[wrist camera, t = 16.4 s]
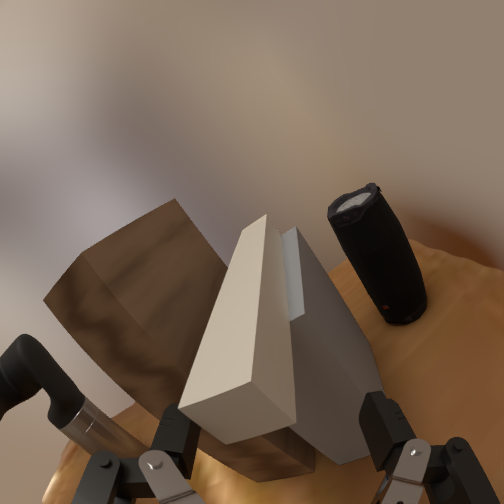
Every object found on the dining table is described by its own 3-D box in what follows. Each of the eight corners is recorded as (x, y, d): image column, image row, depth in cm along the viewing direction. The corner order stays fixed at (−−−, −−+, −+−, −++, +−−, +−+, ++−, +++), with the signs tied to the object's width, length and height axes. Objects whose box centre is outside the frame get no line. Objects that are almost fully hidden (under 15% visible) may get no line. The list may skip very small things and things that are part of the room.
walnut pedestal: (257, 482, 26) (43, 300, 19) (268, 387, 43) (133, 233, 35) (314, 471, 24) (81, 252, 16) (311, 370, 40) (174, 198, 33)
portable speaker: (407, 337, 33) (347, 218, 28) (370, 317, 42) (310, 217, 37) (442, 295, 34) (393, 177, 29) (403, 283, 43) (351, 183, 38)
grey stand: (338, 465, 23) (213, 357, 18) (328, 362, 40) (247, 256, 35) (398, 443, 21) (304, 313, 16) (368, 342, 37) (295, 226, 32)
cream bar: (226, 444, 10) (177, 408, 9) (257, 249, 34) (242, 230, 34) (296, 422, 9) (251, 381, 8) (280, 234, 34) (266, 213, 33)
